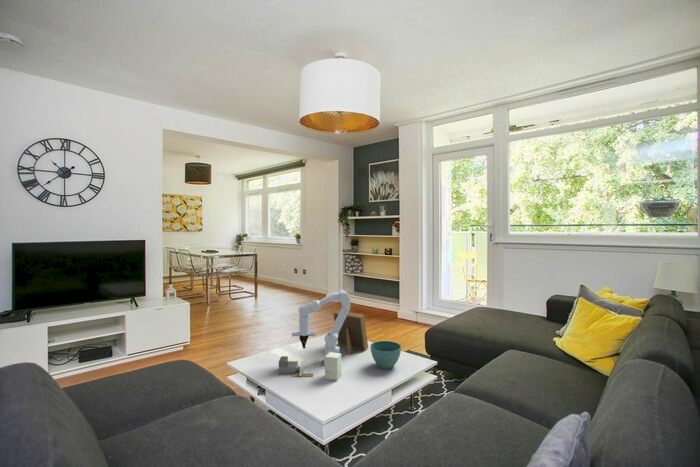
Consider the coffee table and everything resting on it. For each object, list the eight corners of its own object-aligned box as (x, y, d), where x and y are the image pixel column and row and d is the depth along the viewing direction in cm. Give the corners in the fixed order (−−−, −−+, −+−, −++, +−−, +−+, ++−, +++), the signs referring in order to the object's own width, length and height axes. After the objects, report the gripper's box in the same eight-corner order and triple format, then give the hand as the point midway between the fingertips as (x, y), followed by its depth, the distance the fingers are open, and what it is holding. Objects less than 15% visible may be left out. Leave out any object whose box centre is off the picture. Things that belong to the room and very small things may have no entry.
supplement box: (341, 375, 196) (341, 353, 196) (337, 381, 189) (337, 358, 189) (329, 373, 199) (329, 351, 198) (324, 379, 192) (324, 356, 191)
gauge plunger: (303, 367, 206) (303, 361, 206) (301, 376, 194) (301, 369, 194) (285, 367, 206) (285, 361, 205) (282, 376, 194) (282, 370, 194)
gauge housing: (297, 367, 206) (297, 356, 206) (295, 373, 198) (295, 361, 198) (281, 368, 206) (281, 356, 206) (278, 374, 198) (278, 361, 198)
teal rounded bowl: (365, 369, 205) (365, 348, 205) (376, 358, 221) (376, 338, 221) (395, 375, 197) (395, 353, 197) (404, 363, 214) (404, 343, 213)
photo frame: (341, 342, 248) (341, 308, 247) (368, 349, 237) (368, 312, 236) (329, 349, 236) (328, 313, 235) (356, 356, 224) (356, 318, 223)
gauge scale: (313, 373, 198) (313, 373, 198) (312, 376, 195) (312, 376, 195) (293, 374, 198) (293, 373, 198) (292, 377, 194) (292, 376, 194)
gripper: (316, 323, 217) (316, 345, 217) (292, 323, 216) (292, 345, 217) (315, 327, 210) (315, 349, 210) (291, 327, 209) (291, 349, 210)
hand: (304, 347), depth 213 cm, fingers closed
